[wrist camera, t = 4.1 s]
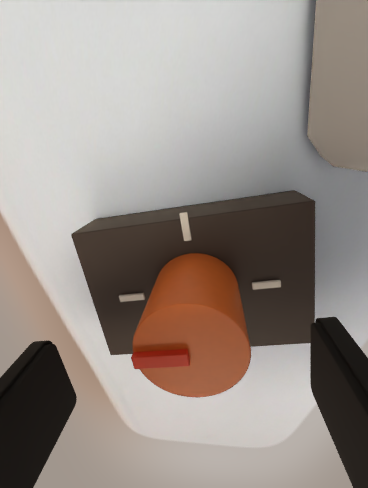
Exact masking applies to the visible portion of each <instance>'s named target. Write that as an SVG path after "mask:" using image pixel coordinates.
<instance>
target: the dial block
mask: <svg viewBox="0 0 368 488" xmlns="http://www.w3.org/2000/svg"><path fill="white" fill-rule="evenodd" d="M72 238H73V242H74V245H75V248H76V251H77V254H78V257H79V260H80V263H81V266H82V269H83V272H84V275H85V278H86V281H87V284H88V287H89V290H90V293H91V296H92V299H93V302H94V305H95V308H96V311H97V315H98V318H99V321H100V324H101V327H102V330H103V333H104V336H105V339H106V342H107V345H108V348H109V351H110V354H111V355H119V354H133V345H132V344H133V337H134V334H135V331H136V329H137V326H138V324H139V321H140V319H141V316H142V314H143V312H144V309H145V307H146V304H147V302H148V299H149V297H150V294H151V292H152V289H153V287H154V285H155V282H156V280H157V277H158V275H159V273H160V271H161V270H162V268H163V267H164V266H165V265H166V264H167V263H168V262H169V261H171V260H173V259H174V258H176V257H178V256H181V255H184V254H190V253H201V254H206V255H210V256H213V257H215V258H217V259H219V260H221V261H222V262H224V263H225V264H226V265H227V266H228V267H229V268H230V269H231V270H232V272H233V273H234V275H235V277H236V279H237V282H238V287H239V292H240V297H241V302H242V307H243V312H244V317H245V322H246V327H247V333H248V338H249V343H250V347H251V346H267V345H284V344H300V343H311V324H312V323H314V318H315V201H314V200H312V199H310V198H308V197H307V196H305V195H303V194H301V193H299V192H297V191H295V190H294V191H287V192H280V193H273V194H266V195H259V196H252V197H245V198H238V199H231V200H225V201H218V202H211V203H204V204H197V205H190V206H183V207H176V208H169V209H162V210H155V211H148V212H141V213H135V214H128V215H121V216H114V217H107V218H100V219H95V220H93V221H92V222H90V223H88V224H87V225H85V226H84V227H82V228H81V229H79V230H77V231H76V232H74V233H73V234H72Z"/></svg>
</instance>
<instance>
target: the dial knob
mask: <svg viewBox="0 0 368 488" xmlns="http://www.w3.org/2000/svg"><path fill="white" fill-rule="evenodd" d="M132 345H133V354H132V357H131V359H132V362H133V366H134V369H140V370H141V372H142V373H143V374H144V375H145V376H146V377H147V379H149V380H150V381H151V382H152V383H154V384H155V385H156V386H158V387H160V388H162V389H163V390H166V391H168V392H170V393H173V394H177V395H181V396H187V397H206V396H212V395H216V394H219V393H221V392H224V391H226V390H228V389H230V388H231V387H233V386H234V385H235V384H237V383H238V382H239V381H240V380H241V379H242V377H243V376H244V375H245V373H246V371H247V369H248V366H249V363H250V358H251V348H250V343H249V338H248V333H247V327H246V322H245V317H244V312H243V307H242V302H241V297H240V292H239V287H238V282H237V279H236V277H235V275H234V273H233V272H232V270H231V269H230V268H229V267H228V266H227V265H226V264H225V263H224V262H222V261H221V260H219V259H217V258H215V257H213V256H210V255H206V254H201V253H190V254H184V255H181V256H178V257H176V258H174V259H173V260H171V261H169V262H168V263H167V264H166V265H165V266H164V267H163V268H162V270H161V271H160V273H159V275H158V277H157V280H156V282H155V285H154V287H153V289H152V292H151V294H150V297H149V299H148V302H147V304H146V307H145V309H144V312H143V314H142V316H141V319H140V321H139V324H138V326H137V329H136V331H135V334H134V337H133V344H132Z"/></svg>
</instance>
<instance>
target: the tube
mask: <svg viewBox="0 0 368 488" xmlns="http://www.w3.org/2000/svg"><path fill="white" fill-rule="evenodd" d="M307 137H308V138H309V139H310V141H311V142H312V144H313V145H314V147H315V148H316V150H317V151H318V153H319V154H320V156H321V157H322V158H324V159H325V160H326V161H327V162H328V163H330V164H331V165H332V166H334V167H340V168H346V169H353V170H359V171H365V172H368V0H316V10H315V25H314V40H313V55H312V71H311V86H310V101H309V116H308V132H307Z"/></svg>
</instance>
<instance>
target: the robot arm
mask: <svg viewBox="0 0 368 488" xmlns="http://www.w3.org/2000/svg"><path fill="white" fill-rule="evenodd" d="M311 389H312V392H313V395H314V398H315V400H316V402H317V405H318V407H319V409H320V412H321V414H322V416H323V418H324V421H325V423H326V425H327V428H328V430H329V432H330V435H331V437H332V439H333V441H334V444H335V446H336V449H337V451H338V453H339V455H340V458H341V460H342V463H343V465H344V467H345V470H346V472H347V474H348V476H349V479H350V481H351V483H352V486H353V488H368V358H367V357H366V355H365V354H364V353H363V351H362V350H361V349H360V347H359V346H358V345H357V343H356V342H355V341H354V340H353V338H352V337H351V336H350V334H349V333H348V332H347V330H346V329H345V328H344V326H343V325H342V324H341V323H340V321H339V320H338V319H337V318H336V317H327V318H317V319H316V323H312V324H311ZM75 404H76V394H75V391H74V389H73V386H72V384H71V382H70V379H69V377H68V374H67V372H66V369H65V367H64V365H63V362H62V359H61V357H60V355H59V352H58V350H57V347H56V346H55V345H54V344H52V342H51V341H37V342H33V343H32V344H30V345H29V347H28V348H27V349H26V350H25V351H24V352H23V353H22V354H21V355H20V357H19V358H18V359H17V360H16V361H15V362H14V363H13V364H12V365H11V366H10V368H9V369H8V370H7V371H6V372H5V373H4V374H3V375H2V377H1V378H0V488H33V487H34V485H35V483H36V481H37V479H38V477H39V475H40V473H41V471H42V469H43V467H44V465H45V463H46V461H47V459H48V457H49V455H50V453H51V452H52V450H53V448H54V446H55V444H56V442H57V440H58V438H59V436H60V434H61V432H62V430H63V428H64V426H65V424H66V422H67V420H68V418H69V416H70V415H71V413H72V411H73V409H74V407H75Z"/></svg>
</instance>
